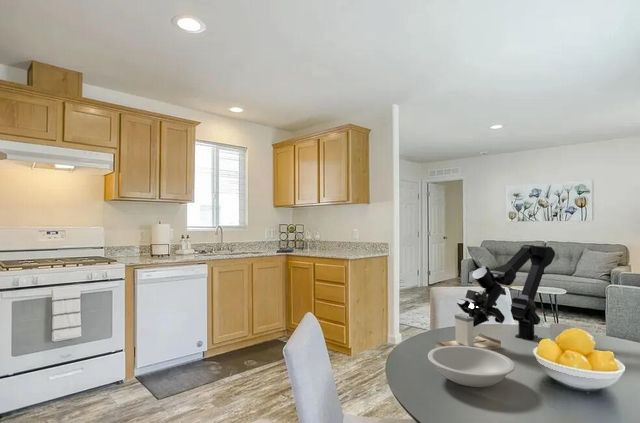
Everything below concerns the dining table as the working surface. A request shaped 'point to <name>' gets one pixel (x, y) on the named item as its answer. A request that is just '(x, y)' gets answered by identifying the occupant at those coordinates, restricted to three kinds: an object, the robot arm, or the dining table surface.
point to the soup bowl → (471, 365)
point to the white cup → (558, 329)
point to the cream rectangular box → (464, 329)
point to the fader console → (475, 343)
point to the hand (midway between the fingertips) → (468, 328)
